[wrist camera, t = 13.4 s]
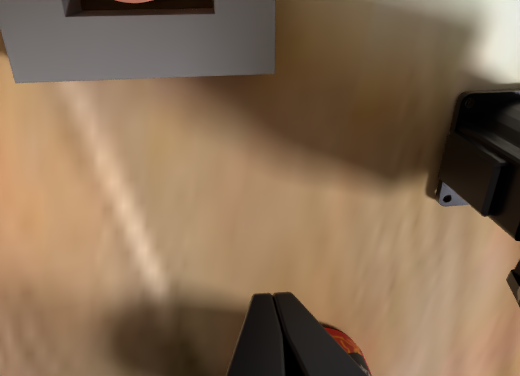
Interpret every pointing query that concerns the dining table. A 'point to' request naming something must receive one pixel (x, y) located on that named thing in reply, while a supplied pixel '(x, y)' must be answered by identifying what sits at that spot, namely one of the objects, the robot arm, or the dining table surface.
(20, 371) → the dining table surface
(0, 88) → the dining table surface
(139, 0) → the button
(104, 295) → the dining table surface
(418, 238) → the dining table surface
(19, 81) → the button housing
